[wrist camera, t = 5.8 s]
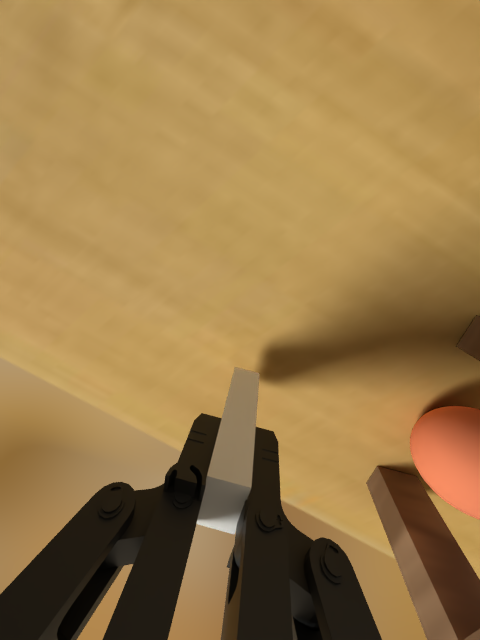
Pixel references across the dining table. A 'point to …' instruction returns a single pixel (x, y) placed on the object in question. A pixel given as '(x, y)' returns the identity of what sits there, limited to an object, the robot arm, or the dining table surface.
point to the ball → (450, 455)
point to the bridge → (430, 546)
